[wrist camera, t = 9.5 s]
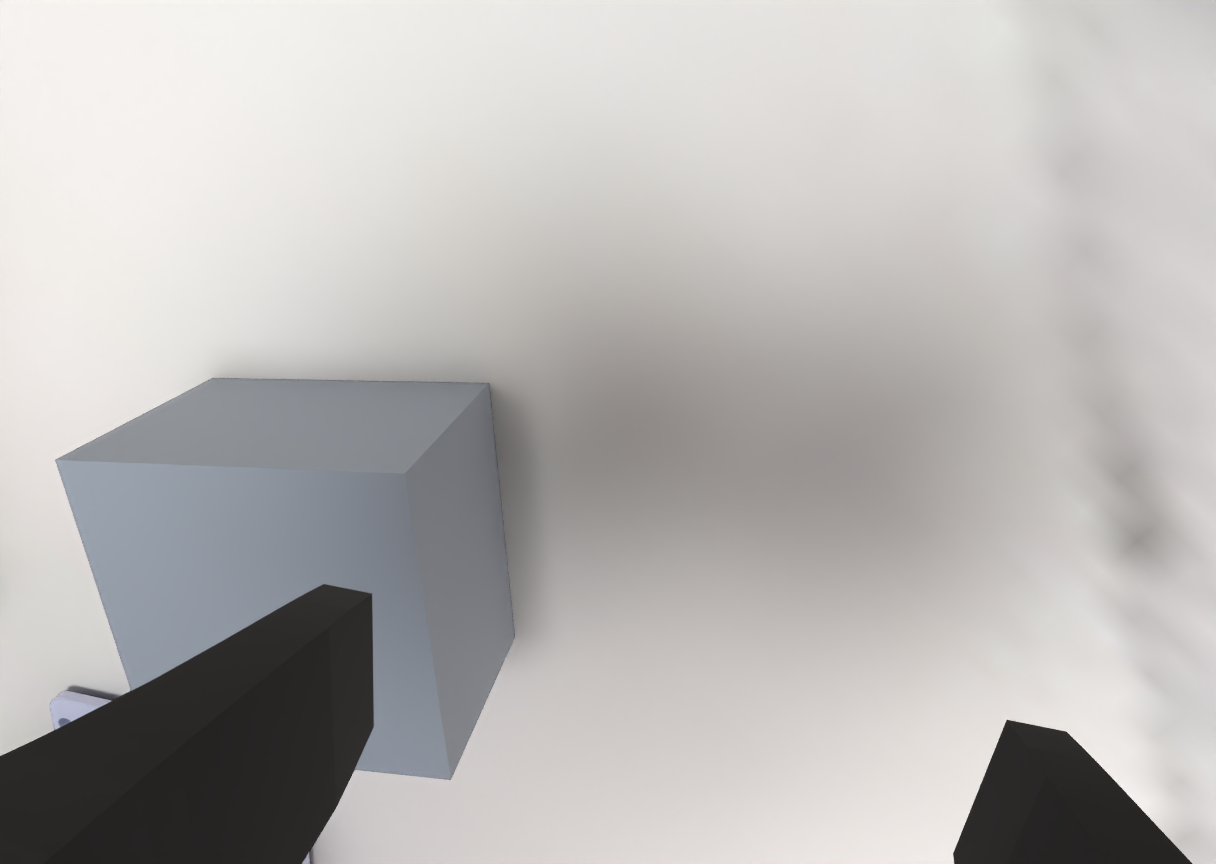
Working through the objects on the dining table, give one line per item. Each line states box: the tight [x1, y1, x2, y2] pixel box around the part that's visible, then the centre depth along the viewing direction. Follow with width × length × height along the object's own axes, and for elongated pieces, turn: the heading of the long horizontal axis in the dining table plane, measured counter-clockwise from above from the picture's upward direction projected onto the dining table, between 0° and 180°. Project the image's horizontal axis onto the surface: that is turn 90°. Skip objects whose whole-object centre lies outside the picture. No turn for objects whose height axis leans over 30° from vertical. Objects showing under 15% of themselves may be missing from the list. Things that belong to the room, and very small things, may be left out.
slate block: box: [55, 378, 515, 780], centre depth 18 cm, size 7×7×5 cm
